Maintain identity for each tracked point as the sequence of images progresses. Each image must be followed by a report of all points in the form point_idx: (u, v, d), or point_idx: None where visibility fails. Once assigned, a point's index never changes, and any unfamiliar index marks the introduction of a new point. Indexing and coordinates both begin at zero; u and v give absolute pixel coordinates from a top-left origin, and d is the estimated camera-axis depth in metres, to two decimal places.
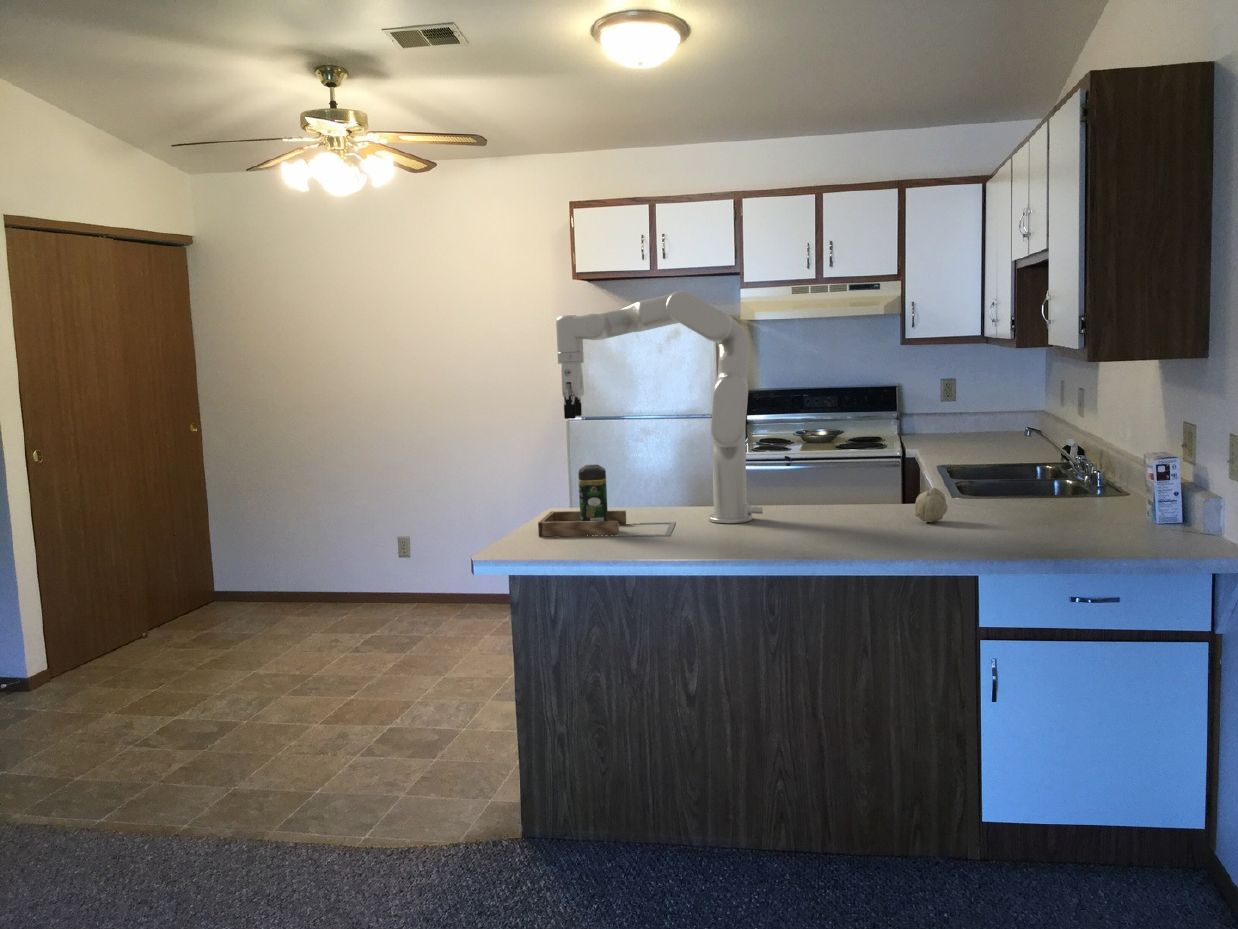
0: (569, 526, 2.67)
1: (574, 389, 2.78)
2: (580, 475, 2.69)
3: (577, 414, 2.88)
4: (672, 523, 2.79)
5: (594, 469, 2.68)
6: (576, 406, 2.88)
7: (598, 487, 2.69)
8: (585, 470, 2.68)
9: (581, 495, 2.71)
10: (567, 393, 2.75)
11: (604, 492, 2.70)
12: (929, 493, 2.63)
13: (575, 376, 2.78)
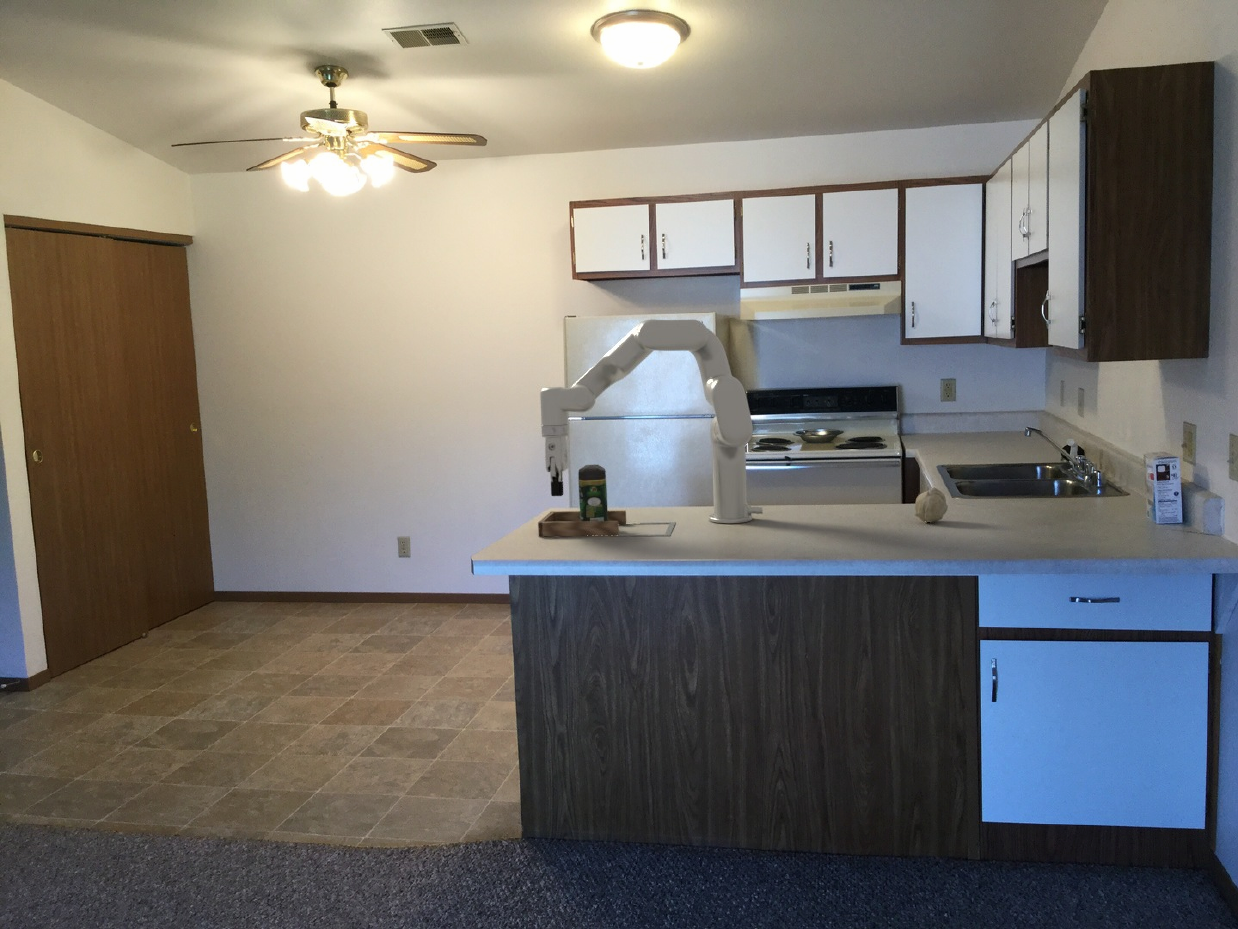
0: (569, 526, 2.67)
1: (558, 464, 2.68)
2: (580, 475, 2.69)
3: None
4: (672, 523, 2.79)
5: (594, 469, 2.68)
6: None
7: (598, 487, 2.69)
8: (585, 470, 2.68)
9: (581, 495, 2.71)
10: (554, 477, 2.69)
11: (604, 492, 2.70)
12: (929, 493, 2.63)
13: (559, 451, 2.68)
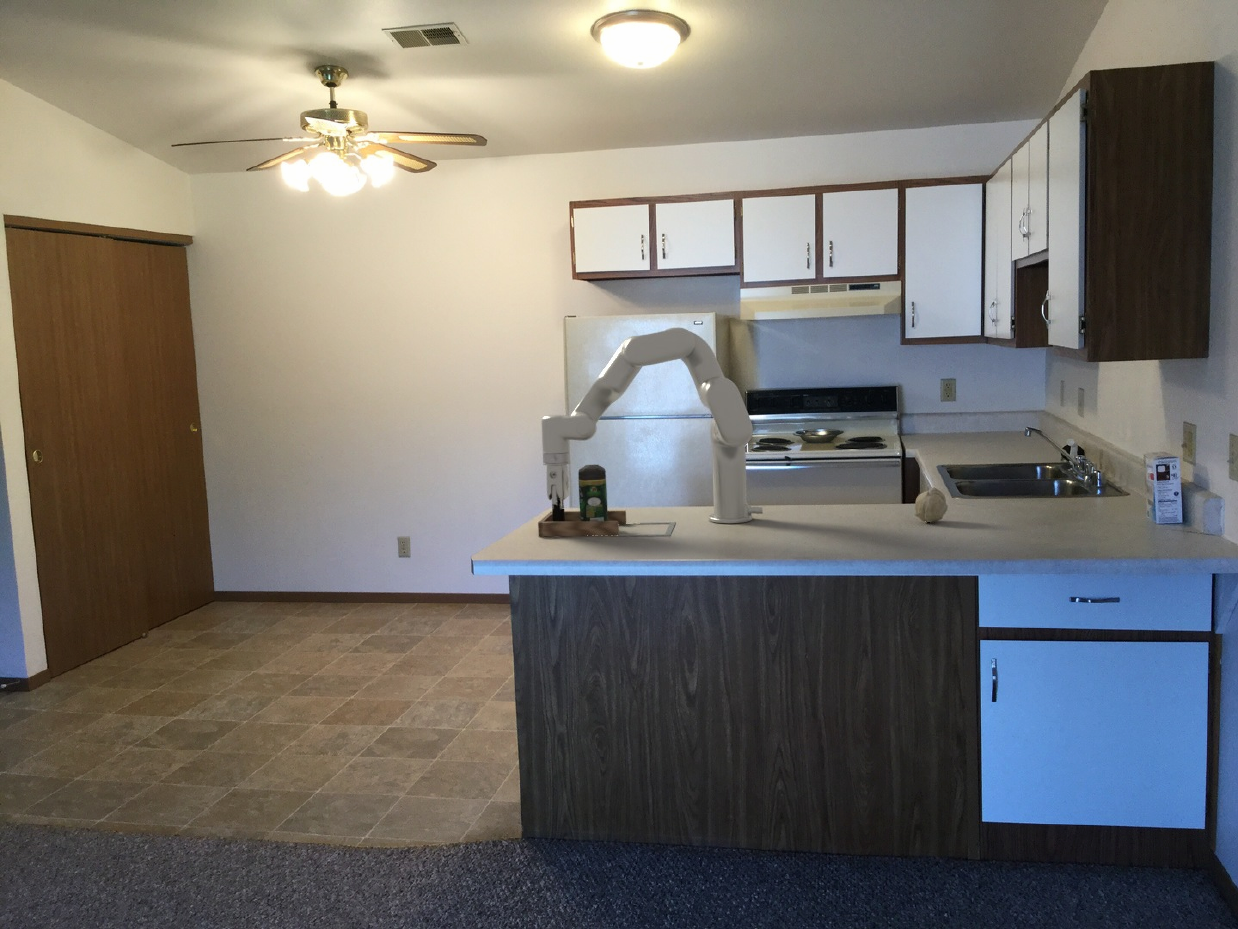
0: (569, 526, 2.67)
1: (559, 492, 2.69)
2: (580, 475, 2.69)
3: None
4: (672, 523, 2.79)
5: (594, 469, 2.68)
6: None
7: (598, 487, 2.69)
8: (585, 470, 2.68)
9: (581, 495, 2.71)
10: (555, 505, 2.70)
11: (604, 492, 2.70)
12: (929, 493, 2.63)
13: (561, 479, 2.69)
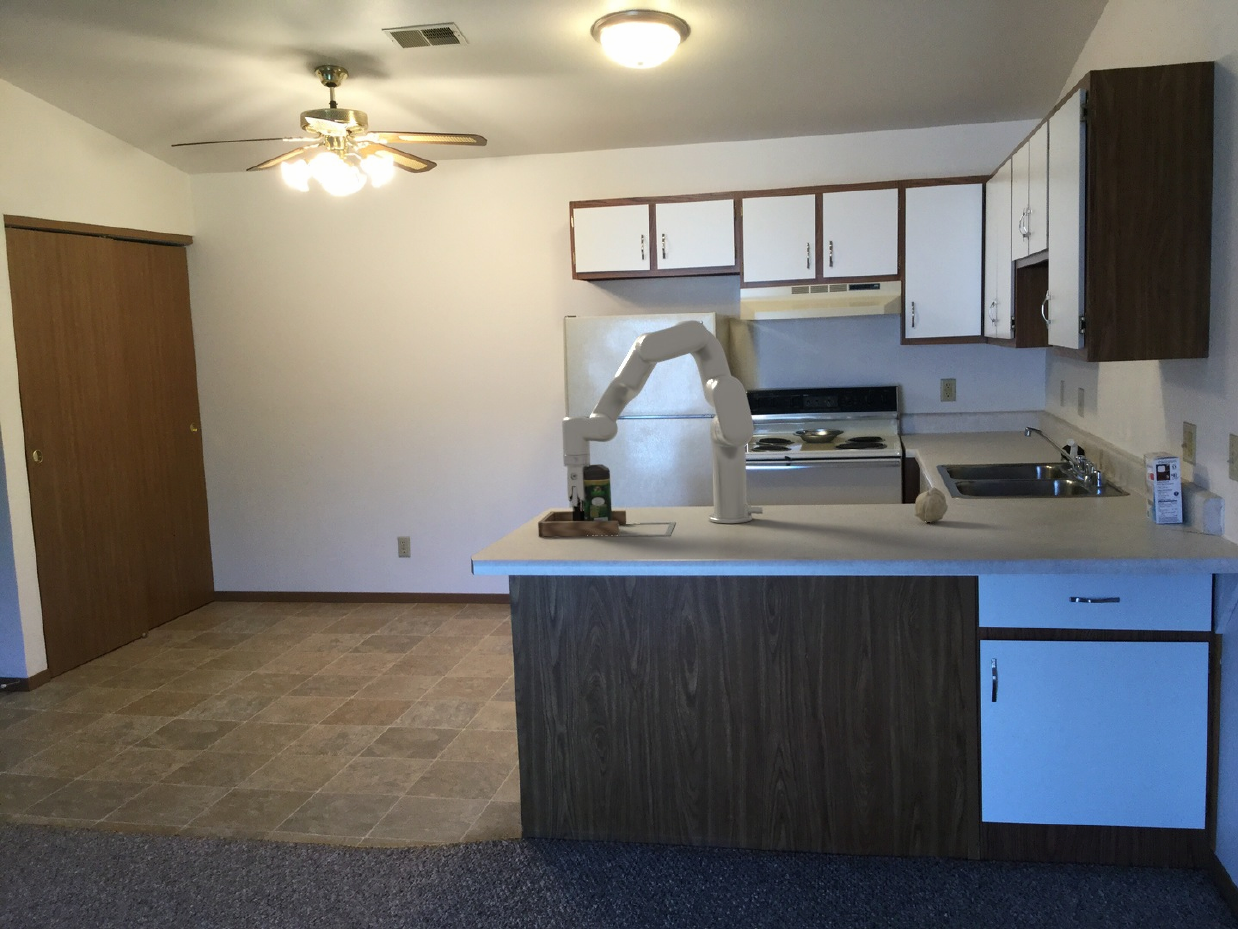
0: (569, 526, 2.67)
1: (580, 494, 2.69)
2: (584, 475, 2.69)
3: None
4: (672, 523, 2.79)
5: (598, 469, 2.68)
6: None
7: (602, 486, 2.69)
8: (589, 470, 2.68)
9: None
10: (576, 506, 2.70)
11: (608, 492, 2.70)
12: (929, 493, 2.63)
13: (581, 480, 2.68)
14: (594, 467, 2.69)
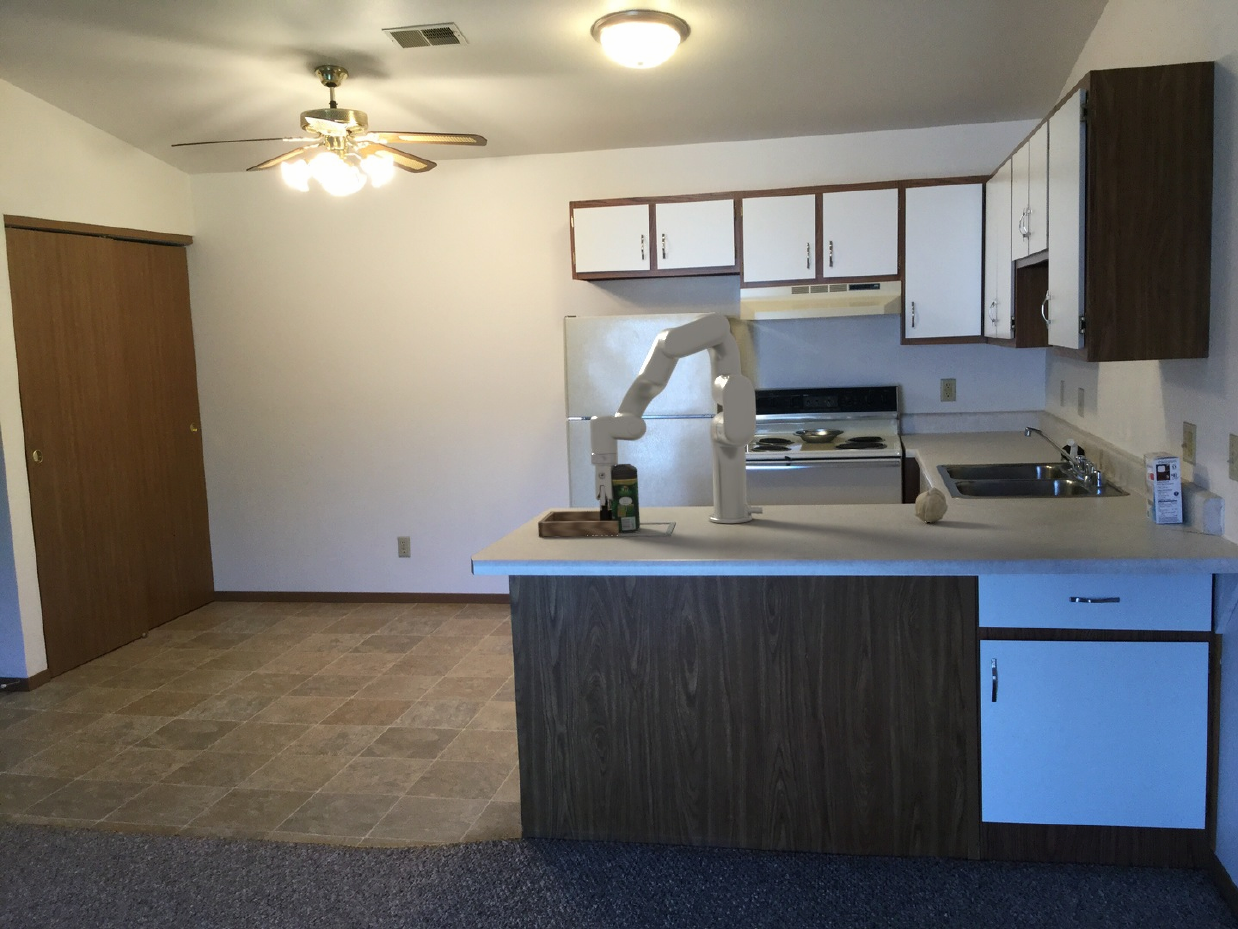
0: (569, 526, 2.67)
1: (608, 493, 2.67)
2: None
3: None
4: (672, 523, 2.79)
5: (625, 468, 2.67)
6: None
7: (629, 486, 2.67)
8: (616, 469, 2.67)
9: None
10: (604, 505, 2.69)
11: (635, 491, 2.69)
12: (929, 493, 2.63)
13: (609, 479, 2.67)
14: (621, 466, 2.68)
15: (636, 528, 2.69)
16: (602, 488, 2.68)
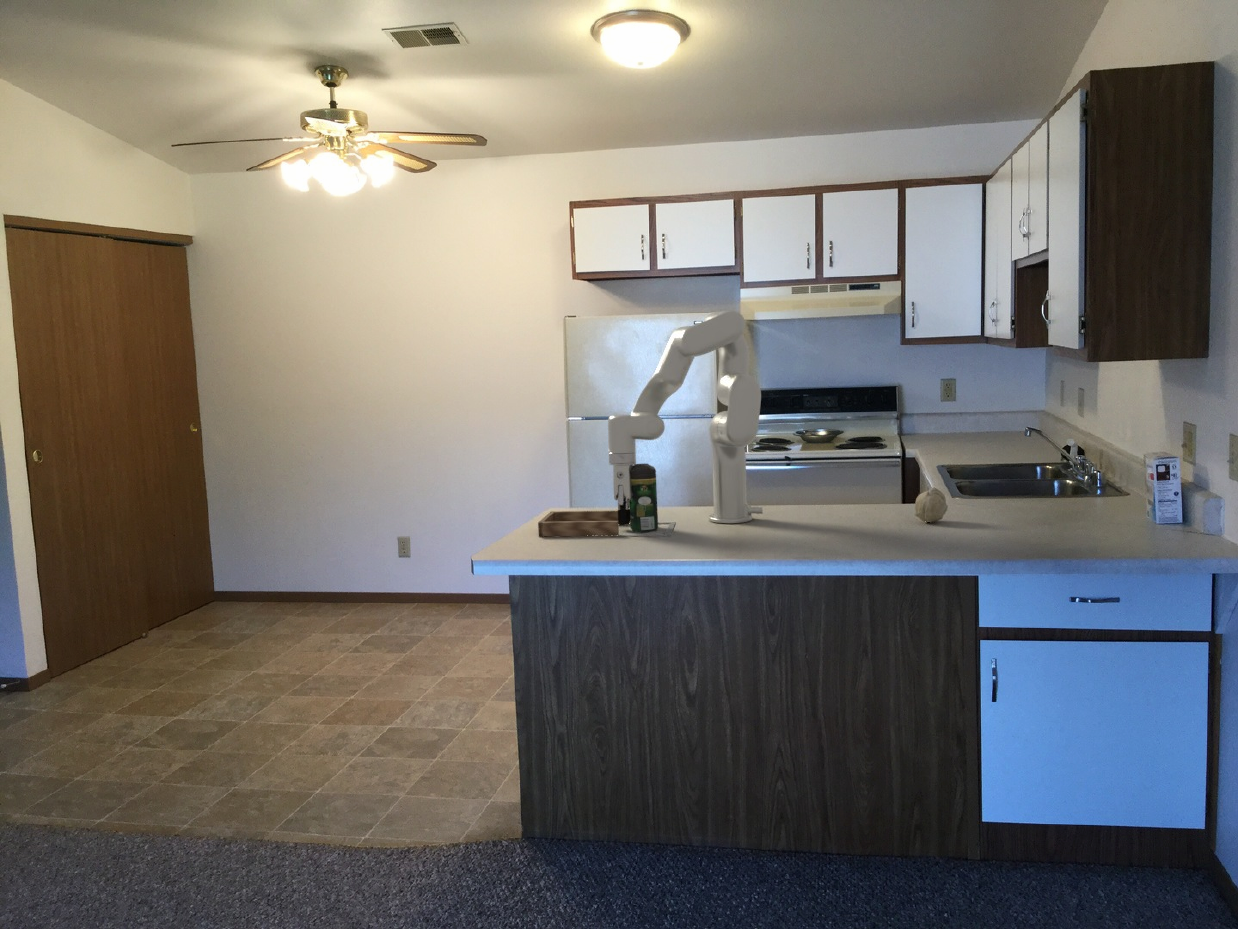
0: (569, 526, 2.67)
1: (626, 492, 2.67)
2: None
3: None
4: (672, 523, 2.79)
5: (645, 468, 2.66)
6: None
7: (648, 486, 2.67)
8: (636, 469, 2.66)
9: None
10: (622, 505, 2.68)
11: (654, 491, 2.69)
12: (929, 493, 2.63)
13: (628, 479, 2.67)
14: (640, 466, 2.68)
15: (655, 528, 2.69)
16: (620, 488, 2.68)
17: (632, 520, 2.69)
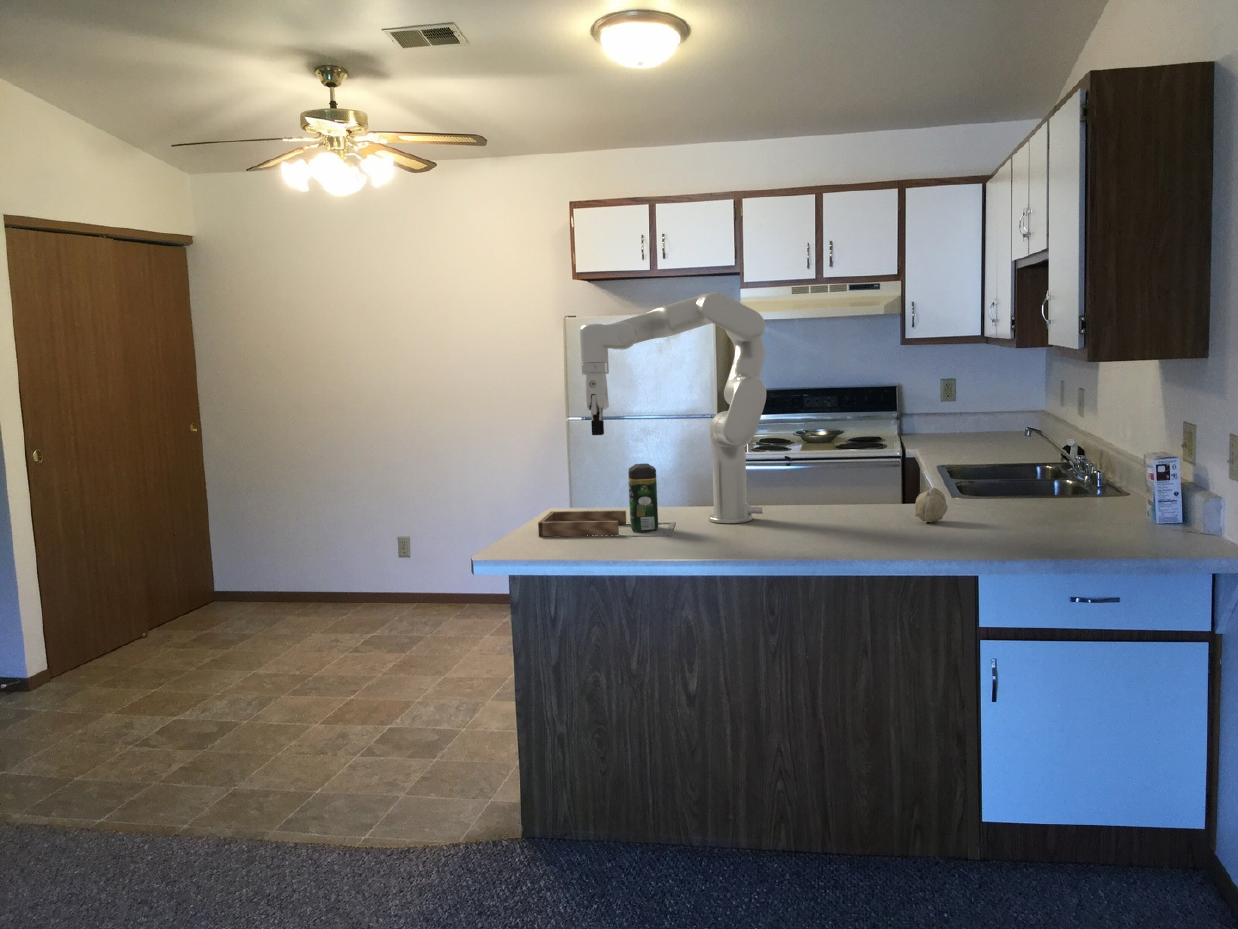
0: (569, 526, 2.67)
1: (599, 401, 2.65)
2: (631, 474, 2.67)
3: None
4: (672, 523, 2.79)
5: (645, 468, 2.66)
6: None
7: (648, 486, 2.67)
8: (636, 469, 2.67)
9: (631, 494, 2.69)
10: (595, 414, 2.66)
11: (655, 491, 2.69)
12: (929, 493, 2.63)
13: (600, 388, 2.65)
14: (641, 466, 2.68)
15: (655, 528, 2.69)
16: (593, 397, 2.66)
17: (632, 520, 2.69)
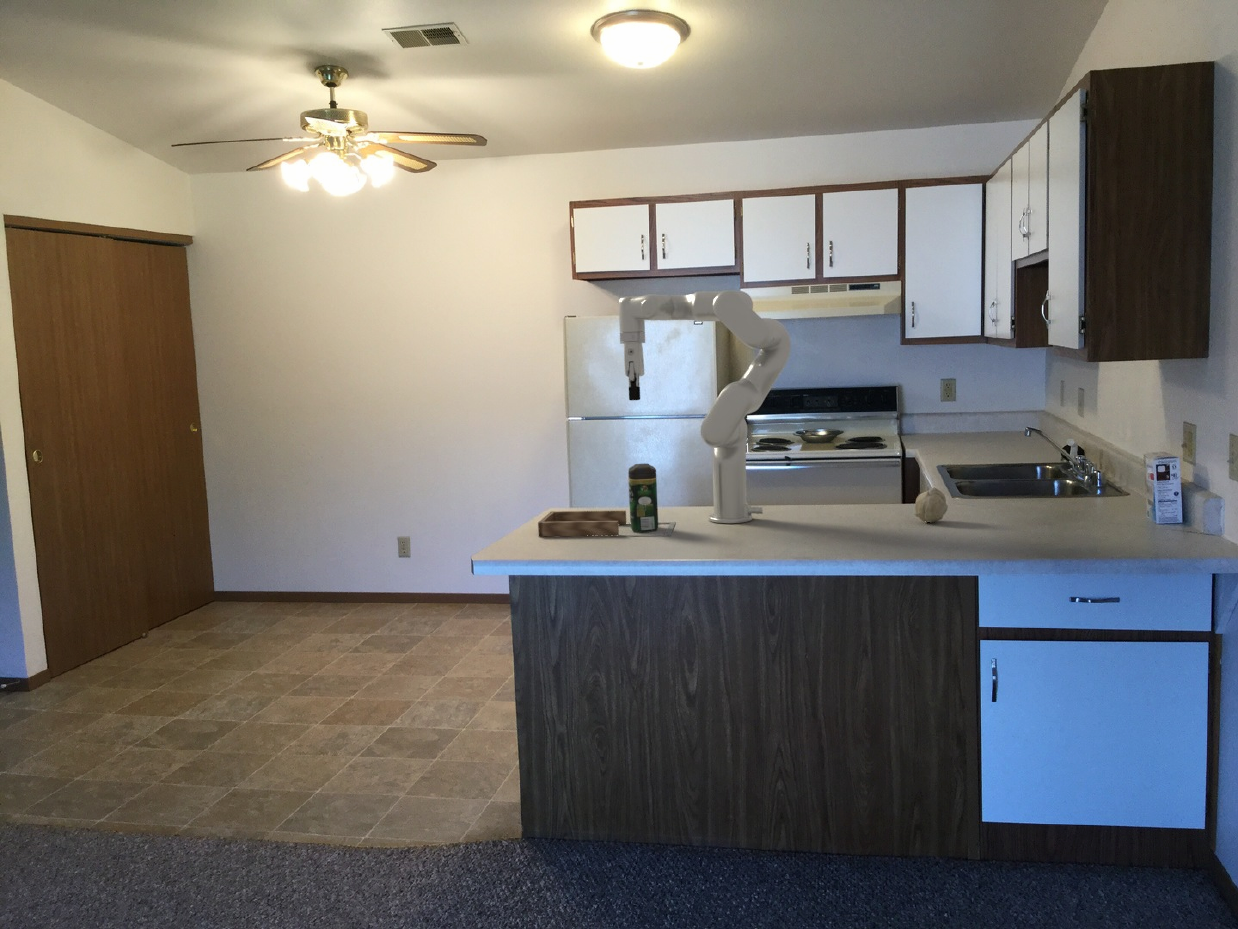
0: (569, 526, 2.67)
1: (637, 368, 2.85)
2: (631, 474, 2.67)
3: None
4: (672, 523, 2.79)
5: (645, 468, 2.66)
6: None
7: (648, 486, 2.67)
8: (636, 469, 2.67)
9: (631, 494, 2.69)
10: (633, 380, 2.86)
11: (655, 491, 2.69)
12: (929, 493, 2.63)
13: (638, 355, 2.85)
14: (641, 466, 2.68)
15: (655, 528, 2.69)
16: (631, 364, 2.86)
17: (632, 520, 2.69)
